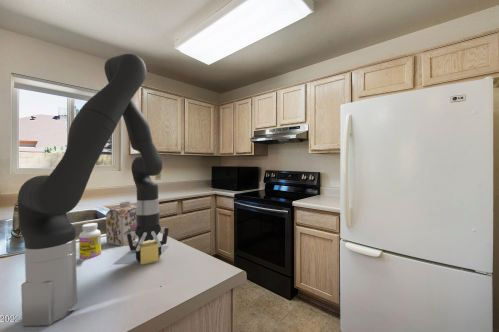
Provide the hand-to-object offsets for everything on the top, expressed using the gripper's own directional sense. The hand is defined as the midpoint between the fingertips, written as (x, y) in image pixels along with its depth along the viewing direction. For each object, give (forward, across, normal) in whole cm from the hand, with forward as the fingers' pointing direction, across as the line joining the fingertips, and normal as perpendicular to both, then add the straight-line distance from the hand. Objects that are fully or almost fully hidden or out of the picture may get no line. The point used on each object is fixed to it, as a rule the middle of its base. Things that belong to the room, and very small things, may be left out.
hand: (148, 258), depth 81 cm
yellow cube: (0, 0, 0) cm, 0 cm away
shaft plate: (+2, +1, -6) cm, 7 cm away
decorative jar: (+2, +6, -30) cm, 31 cm away
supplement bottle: (+2, +18, -16) cm, 25 cm away
